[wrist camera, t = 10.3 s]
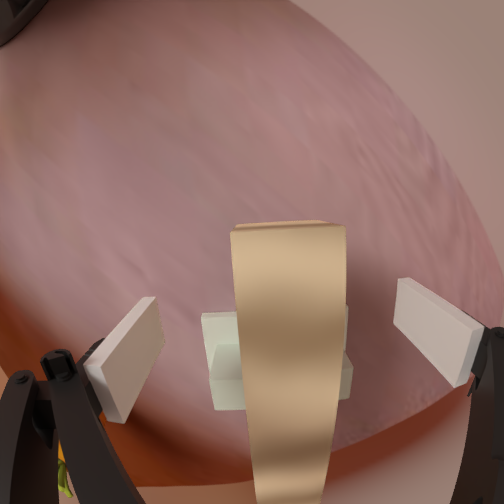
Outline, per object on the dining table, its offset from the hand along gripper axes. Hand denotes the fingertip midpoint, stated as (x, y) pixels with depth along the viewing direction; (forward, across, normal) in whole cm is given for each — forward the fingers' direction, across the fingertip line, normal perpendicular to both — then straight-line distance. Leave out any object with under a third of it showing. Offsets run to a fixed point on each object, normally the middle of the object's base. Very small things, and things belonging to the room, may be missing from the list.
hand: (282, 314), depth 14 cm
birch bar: (+2, 0, -8) cm, 8 cm away
